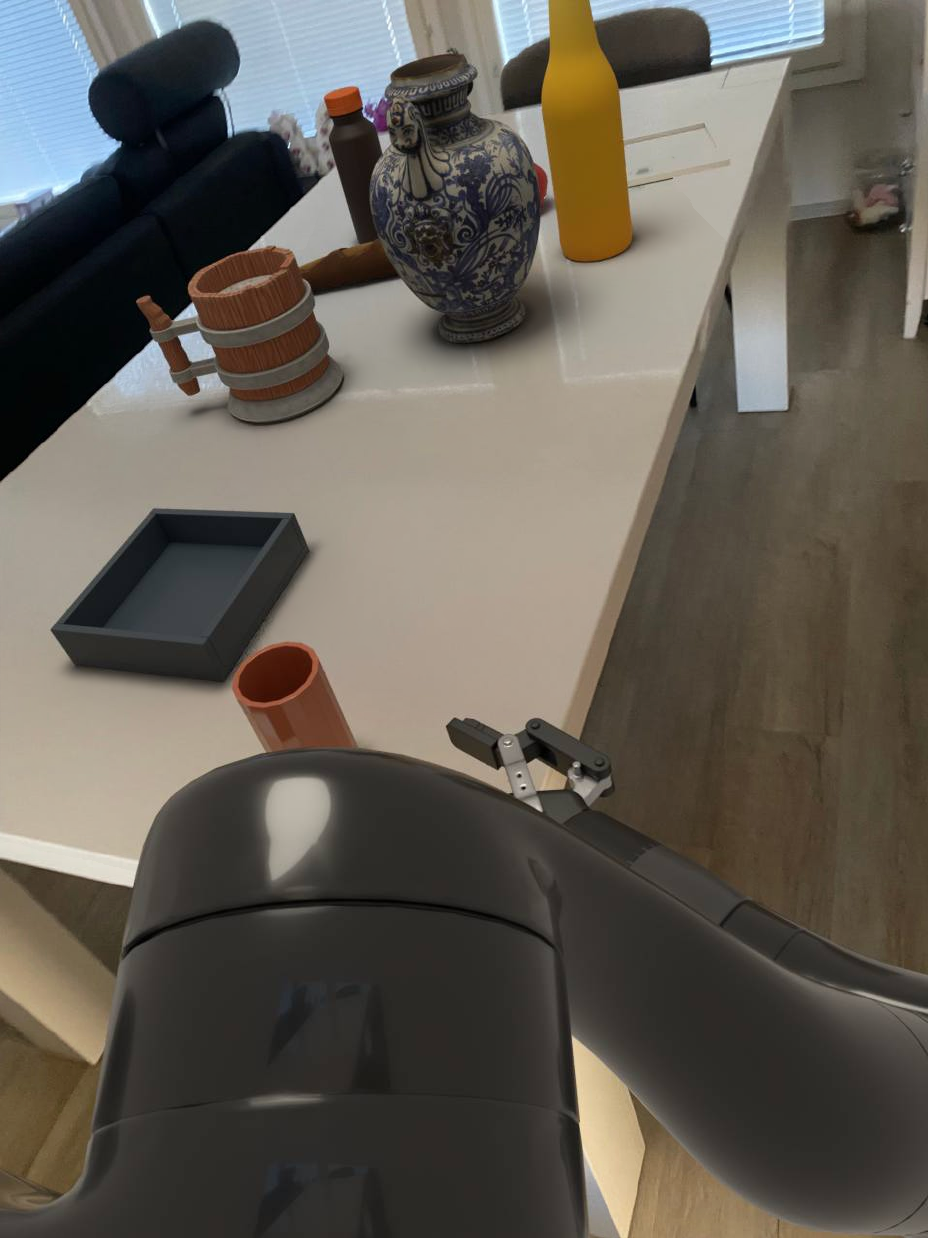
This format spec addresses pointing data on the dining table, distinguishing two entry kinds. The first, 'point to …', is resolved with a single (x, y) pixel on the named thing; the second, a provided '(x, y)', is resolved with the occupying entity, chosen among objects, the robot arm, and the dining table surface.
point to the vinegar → (354, 156)
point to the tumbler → (290, 699)
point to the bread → (348, 266)
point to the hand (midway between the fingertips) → (405, 779)
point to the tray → (184, 593)
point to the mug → (252, 336)
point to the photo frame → (678, 172)
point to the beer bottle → (584, 138)
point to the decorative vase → (455, 200)
